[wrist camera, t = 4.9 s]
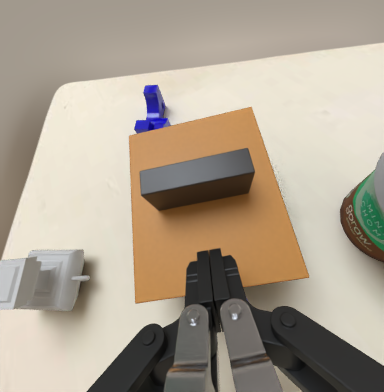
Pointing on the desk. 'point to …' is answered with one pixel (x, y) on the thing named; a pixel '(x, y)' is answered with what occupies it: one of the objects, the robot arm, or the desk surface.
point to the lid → (207, 205)
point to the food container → (366, 213)
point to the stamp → (42, 280)
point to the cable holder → (152, 111)
